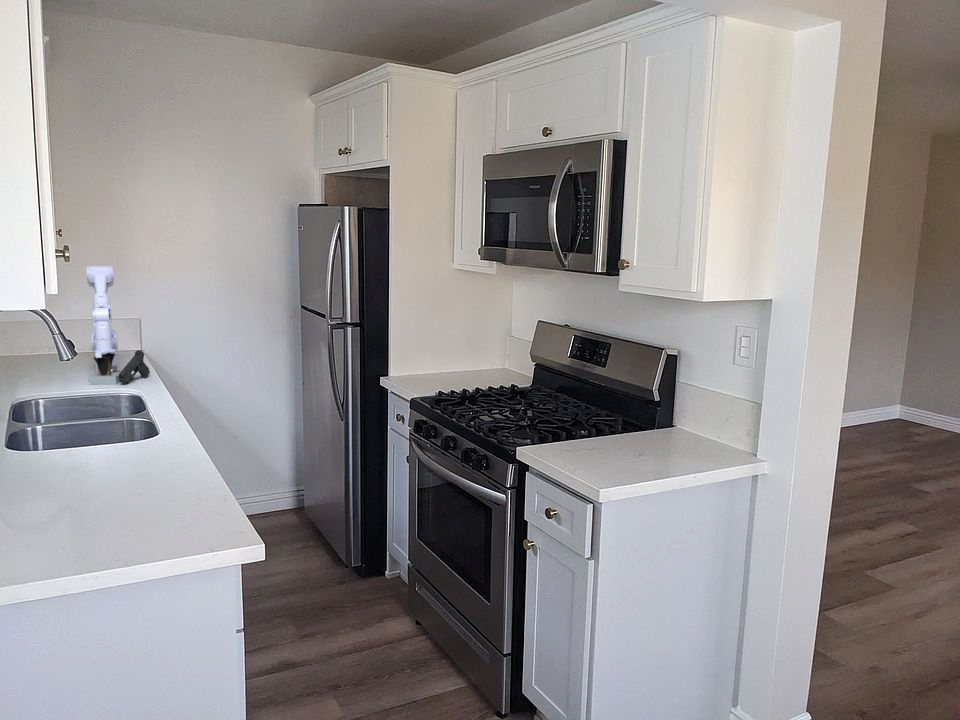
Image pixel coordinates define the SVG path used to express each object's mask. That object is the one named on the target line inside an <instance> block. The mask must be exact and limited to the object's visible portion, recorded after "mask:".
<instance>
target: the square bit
mask: <svg viewBox="0 0 960 720" xmlns="http://www.w3.org/2000/svg"><path fill="white" fill-rule="evenodd" d="M97 367H98V365H97ZM110 375H111V366H110V360H109V363H108V371H107V374H101V373H100V371H99V367H98V376H110Z"/></svg>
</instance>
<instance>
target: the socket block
mask: <svg viewBox="0 0 960 720" xmlns="http://www.w3.org/2000/svg"><path fill="white" fill-rule="evenodd" d="M120 372H121V371H120ZM120 372H119V371H118V372H111V375H110V376H98V373H94V372H93V373H94V374H93V373H92V374H91V375H89V376H87V383H91V384H90V385H118V384H119V383H120V382H119V377H118V376H119V373H120Z"/></svg>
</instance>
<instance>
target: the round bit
mask: <svg viewBox="0 0 960 720" xmlns="http://www.w3.org/2000/svg"><path fill="white" fill-rule="evenodd" d="M117 367H118V365H117V366H115V365H112V366H111V372H119V371H118V370H117Z"/></svg>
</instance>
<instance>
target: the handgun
mask: <svg viewBox="0 0 960 720" xmlns="http://www.w3.org/2000/svg"><path fill="white" fill-rule="evenodd" d="M144 358H145V353H144V351H142V350H140V349H139V350H138V349H137V350H135V352H134V356H133V357H132V358H131V359H130V360H129V361H128V362H127V364H126V365H125V366H124V367H123V369H122V370H121V371H120V373H119V376H118V377H119V383H121V384H122V385H129V384H130V383H131V381H133V380H134V379H135V376H136V374H137V373H139V375H140V377H141V378H140V379H147V378H148V377H149V375H150V374H151V373H150V372H151V371H150V368H149V367H148V365H147V364H146V363H145V362H144ZM132 372H133V373H132Z"/></svg>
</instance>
